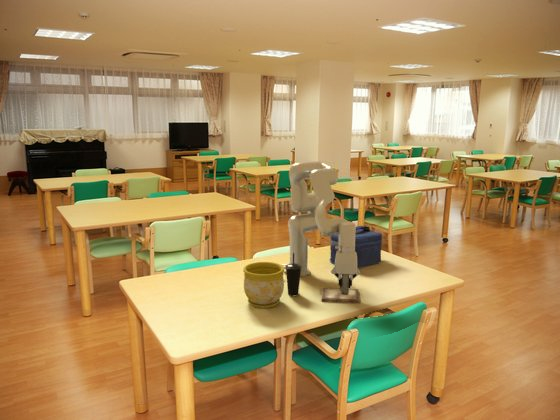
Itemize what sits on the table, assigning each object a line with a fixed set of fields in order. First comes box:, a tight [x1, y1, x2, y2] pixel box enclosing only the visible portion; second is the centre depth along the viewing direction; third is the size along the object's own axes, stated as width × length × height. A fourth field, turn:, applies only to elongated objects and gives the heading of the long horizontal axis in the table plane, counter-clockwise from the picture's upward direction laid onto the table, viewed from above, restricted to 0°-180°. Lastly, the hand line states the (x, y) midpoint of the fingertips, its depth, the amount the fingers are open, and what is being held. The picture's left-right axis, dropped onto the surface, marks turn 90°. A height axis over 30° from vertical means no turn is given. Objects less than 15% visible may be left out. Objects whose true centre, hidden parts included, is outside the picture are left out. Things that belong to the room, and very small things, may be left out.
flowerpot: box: [242, 261, 285, 309], centre depth 195 cm, size 18×18×16 cm
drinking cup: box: [285, 253, 302, 297], centre depth 205 cm, size 8×8×20 cm
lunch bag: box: [329, 225, 383, 269], centre depth 253 cm, size 31×21×20 cm
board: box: [321, 287, 361, 304], centre depth 204 cm, size 17×14×2 cm
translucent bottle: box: [341, 274, 350, 295], centre depth 202 cm, size 4×4×13 cm
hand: (345, 286), depth 203 cm, fingers closed on translucent bottle, 3 cm apart
